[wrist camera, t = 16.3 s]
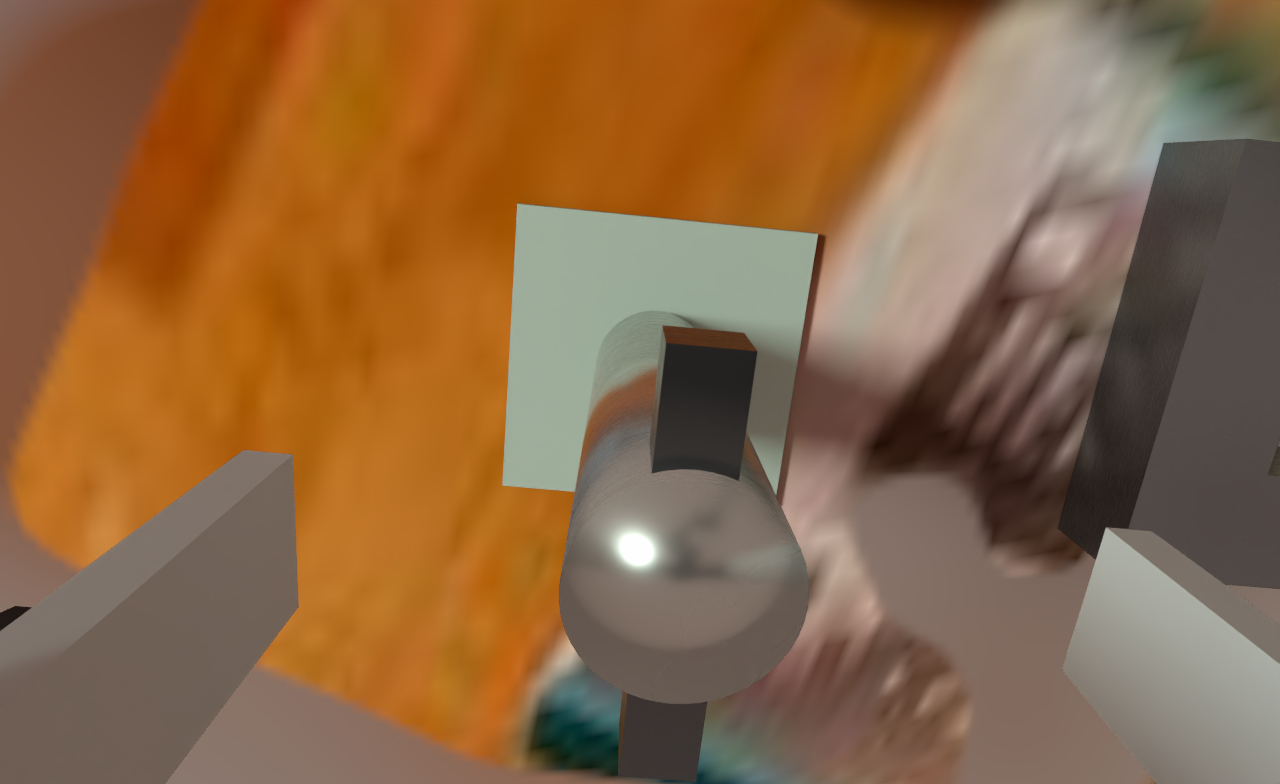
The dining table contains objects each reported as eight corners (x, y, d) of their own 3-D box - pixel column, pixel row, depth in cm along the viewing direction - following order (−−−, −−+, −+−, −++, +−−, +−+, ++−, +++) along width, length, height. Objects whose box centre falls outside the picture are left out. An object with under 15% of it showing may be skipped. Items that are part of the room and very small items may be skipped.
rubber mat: (519, 203, 25) (517, 203, 25) (815, 233, 26) (818, 234, 25) (504, 481, 28) (502, 485, 28) (771, 503, 29) (774, 508, 28)
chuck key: (587, 469, 28) (542, 793, 13) (606, 245, 25) (578, 342, 11) (697, 478, 28) (772, 809, 13) (725, 257, 26) (850, 367, 11)
